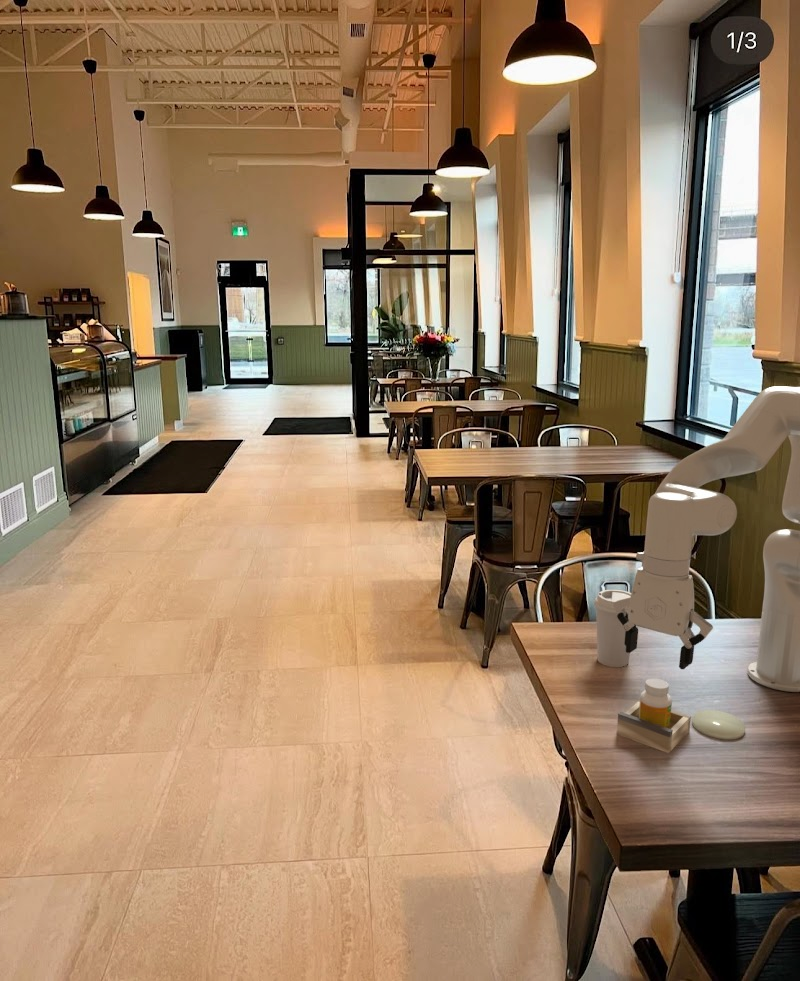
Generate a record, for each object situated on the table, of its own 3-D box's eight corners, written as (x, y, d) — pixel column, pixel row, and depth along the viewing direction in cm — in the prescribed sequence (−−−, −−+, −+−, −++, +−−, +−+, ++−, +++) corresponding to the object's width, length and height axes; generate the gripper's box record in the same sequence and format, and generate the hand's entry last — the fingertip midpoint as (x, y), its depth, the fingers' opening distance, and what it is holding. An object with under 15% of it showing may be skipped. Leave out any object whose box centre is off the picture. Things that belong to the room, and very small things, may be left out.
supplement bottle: (670, 742, 135) (675, 691, 133) (639, 739, 136) (643, 688, 134) (666, 726, 140) (671, 677, 138) (636, 723, 141) (639, 675, 139)
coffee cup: (601, 647, 173) (605, 585, 170) (642, 659, 167) (647, 594, 164) (582, 662, 166) (586, 596, 163) (624, 674, 160) (629, 607, 157)
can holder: (639, 714, 144) (640, 694, 143) (689, 731, 138) (691, 711, 137) (616, 734, 137) (618, 713, 136) (668, 753, 131) (670, 732, 130)
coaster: (702, 709, 146) (702, 705, 146) (751, 725, 140) (752, 721, 140) (684, 727, 140) (684, 723, 139) (735, 745, 134) (735, 740, 134)
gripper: (609, 559, 134) (601, 650, 137) (709, 581, 122) (698, 680, 126) (627, 550, 139) (620, 638, 143) (725, 571, 128) (714, 666, 131)
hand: (657, 658), depth 134 cm, fingers open, 9 cm apart
